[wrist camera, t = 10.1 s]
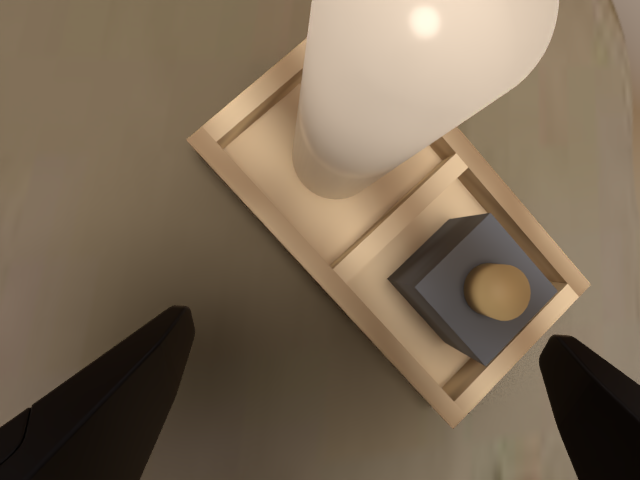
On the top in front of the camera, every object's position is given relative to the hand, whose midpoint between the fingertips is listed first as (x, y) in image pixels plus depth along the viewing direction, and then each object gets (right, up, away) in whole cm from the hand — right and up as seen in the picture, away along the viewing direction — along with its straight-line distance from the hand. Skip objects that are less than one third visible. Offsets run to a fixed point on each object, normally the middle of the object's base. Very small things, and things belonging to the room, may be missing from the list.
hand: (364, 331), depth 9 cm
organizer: (+3, +3, +12) cm, 13 cm away
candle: (0, +7, +11) cm, 13 cm away
